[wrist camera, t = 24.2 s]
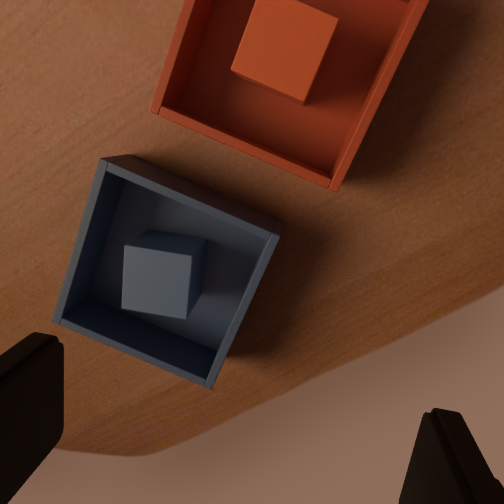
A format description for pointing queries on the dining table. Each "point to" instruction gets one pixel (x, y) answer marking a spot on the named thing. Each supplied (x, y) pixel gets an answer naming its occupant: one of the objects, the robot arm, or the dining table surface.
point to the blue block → (163, 273)
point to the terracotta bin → (279, 108)
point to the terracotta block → (284, 47)
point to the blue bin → (171, 221)
